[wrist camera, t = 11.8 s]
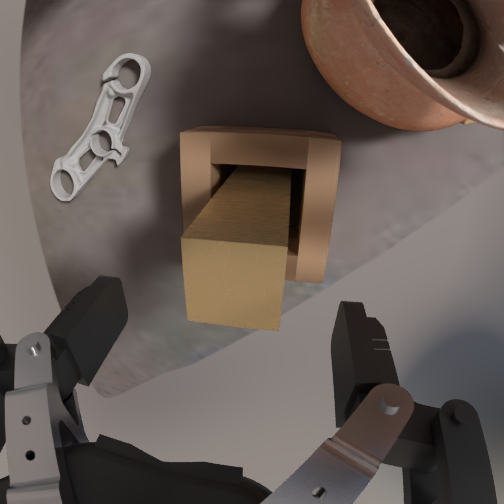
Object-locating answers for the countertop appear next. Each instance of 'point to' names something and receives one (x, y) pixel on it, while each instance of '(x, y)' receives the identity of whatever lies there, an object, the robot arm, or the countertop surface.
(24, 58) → the countertop surface
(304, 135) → the walnut block
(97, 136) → the bracket
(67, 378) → the robot arm
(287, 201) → the tan wooden square peg
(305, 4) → the ceramic jug
